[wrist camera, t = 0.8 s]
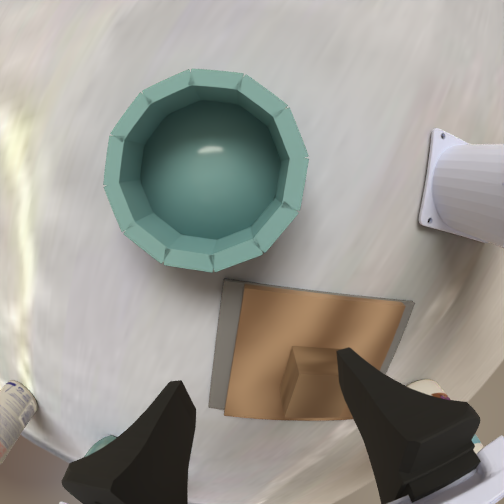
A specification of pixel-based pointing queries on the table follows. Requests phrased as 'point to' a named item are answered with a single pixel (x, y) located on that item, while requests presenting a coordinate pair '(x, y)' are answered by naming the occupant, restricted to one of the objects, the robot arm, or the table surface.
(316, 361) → the lid
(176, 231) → the bowl
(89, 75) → the table surface
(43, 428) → the table surface
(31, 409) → the energy drink
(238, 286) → the mat
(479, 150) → the robot arm
